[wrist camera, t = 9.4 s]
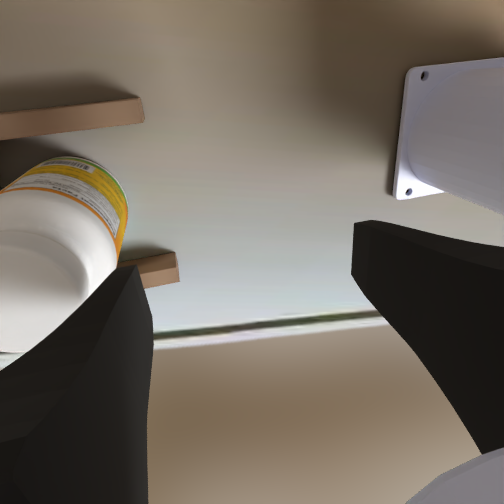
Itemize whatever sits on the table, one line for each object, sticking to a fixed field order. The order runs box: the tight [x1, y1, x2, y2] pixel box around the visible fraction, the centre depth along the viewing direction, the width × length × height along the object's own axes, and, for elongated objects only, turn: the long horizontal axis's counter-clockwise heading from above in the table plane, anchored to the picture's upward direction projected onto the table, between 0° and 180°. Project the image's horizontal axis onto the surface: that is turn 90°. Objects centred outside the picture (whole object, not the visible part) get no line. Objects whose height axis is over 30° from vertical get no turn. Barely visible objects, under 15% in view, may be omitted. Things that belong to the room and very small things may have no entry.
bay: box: [0, 97, 180, 289], centre depth 18 cm, size 9×10×2 cm
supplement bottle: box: [0, 156, 128, 352], centre depth 15 cm, size 5×5×10 cm
